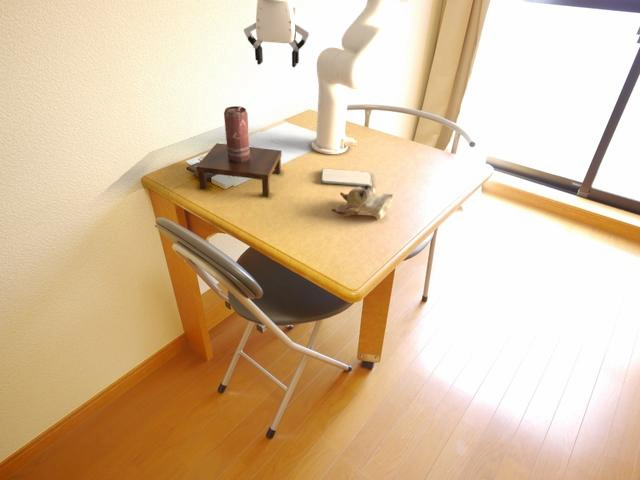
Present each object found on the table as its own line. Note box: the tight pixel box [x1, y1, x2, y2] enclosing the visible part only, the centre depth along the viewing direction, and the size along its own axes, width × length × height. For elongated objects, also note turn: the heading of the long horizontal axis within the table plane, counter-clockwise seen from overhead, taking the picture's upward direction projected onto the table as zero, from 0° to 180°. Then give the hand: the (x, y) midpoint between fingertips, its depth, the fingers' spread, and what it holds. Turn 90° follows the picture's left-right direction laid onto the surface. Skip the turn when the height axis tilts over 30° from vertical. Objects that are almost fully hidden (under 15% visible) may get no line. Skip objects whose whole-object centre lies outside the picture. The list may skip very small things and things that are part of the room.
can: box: [223, 105, 250, 163], centre depth 111 cm, size 6×6×14 cm
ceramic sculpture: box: [330, 185, 394, 221], centre depth 106 cm, size 11×9×15 cm
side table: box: [195, 142, 282, 198], centre depth 117 cm, size 20×16×7 cm
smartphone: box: [320, 168, 373, 187], centre depth 123 cm, size 8×1×15 cm
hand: (277, 64), depth 111 cm, fingers open, 9 cm apart
